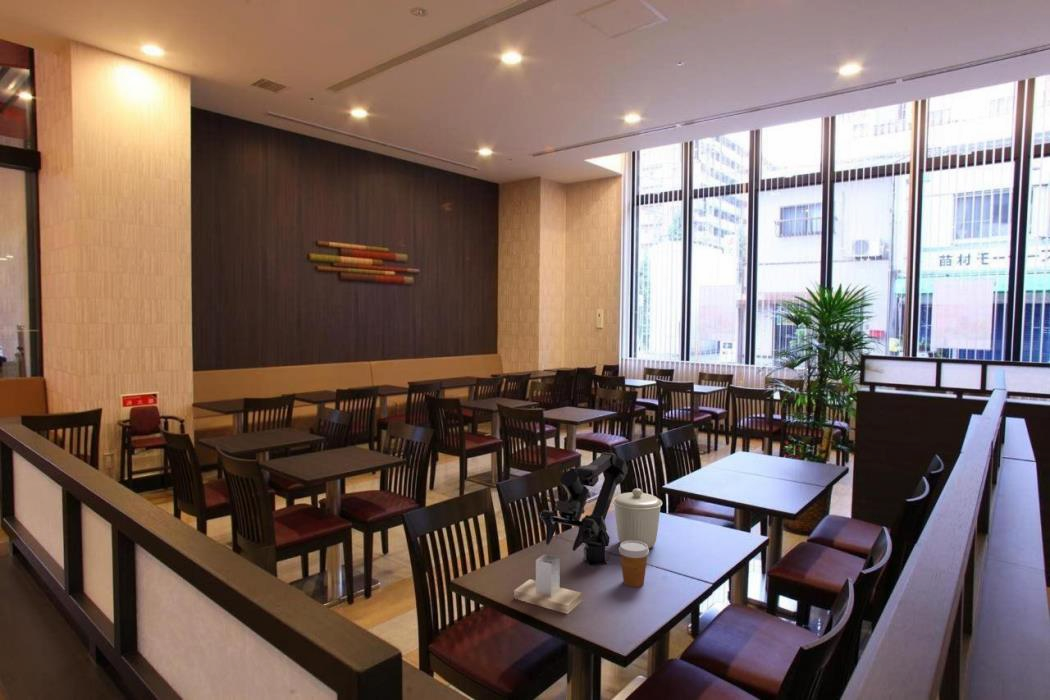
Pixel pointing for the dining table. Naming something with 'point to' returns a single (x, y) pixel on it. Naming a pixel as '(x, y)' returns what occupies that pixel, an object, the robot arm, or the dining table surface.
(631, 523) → the canister
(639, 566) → the disposable coffee cup
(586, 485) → the robot arm
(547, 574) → the white rectangular block
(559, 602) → the birch block
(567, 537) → the dining table surface
